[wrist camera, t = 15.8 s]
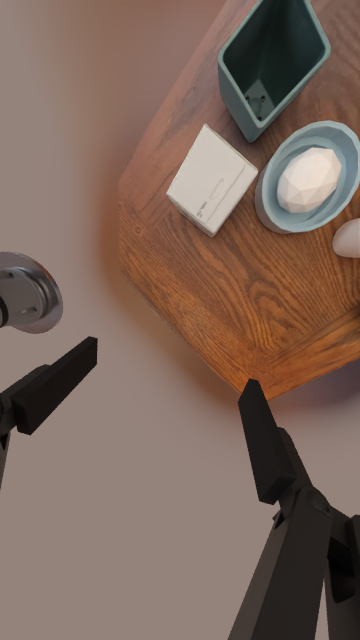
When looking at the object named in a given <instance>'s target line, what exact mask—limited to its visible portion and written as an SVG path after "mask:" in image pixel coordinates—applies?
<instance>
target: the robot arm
mask: <svg viewBox="0 0 360 640" xmlns="http://www.w3.org/2000/svg"><path fill="white" fill-rule="evenodd" d="M45 311H46V300H45V296H44V293H43V291H42V289H41V288H40V286H39V285H38V283H37V282H36V281H35V280H34V279H33V278H32V277H31V276H30V275H28V274H27V273H25V272H23V271H21V270H19V269H16V268H1V269H0V328H1V327H4V326H13V325H23V324H30V323H33V322H35V321H37V320H39V319H41V318H42V317H43V315H44V314H45ZM97 340H98V339H97V338H94V337H90V336H89V337H87V338H86V339H85V340H84V341H82V342H81V343H80V344H78V345H77V346H76V347H74V348H73V349H72V350H70V351H69V352H68V353H66V354H65V355H64V356H62V357H61V358H60V359H58V360H57V361H56V362H55V363H53V364H52V365H51V366H50V365H46V364H45V365H42V366H40V367H37V368H36V369H34V370H33V371H31V372H30V373H28V375H26V376H24V377H23V378H22V379H20V380H18V381H17V382H16V383H14V384H13V385H11V386H10V387H9V388H7V389H6V390H5V391H3V392H2V393H0V489H1V483H2V478H3V472H4V467H5V462H6V456H7V450H8V446H9V440H10V430H11V429H13V428H14V427H15V426H17V430H18V432H20V433H24V434H28V435H31V434H32V433H33V432H34V431H35V430H36V429H37V428H38V427H39V426H40V425H41V424H42V423H43V421H44V420H45V419H46V418H47V417H48V416H49V415H50V414H51V413H52V412H53V411H54V410H55V408H57V406H58V405H59V404H60V403H61V402H62V401H63V400H64V399H65V398H66V397H67V396H68V395H69V393H70V392H71V391H72V390H73V389H74V388H75V387H76V386H77V385H78V384H79V383H80V382H81V381H82V380H83V378H84V377H85V376H86V375H87V374H88V373H89V372H90V371H91V370H92V369H93V368H94V367H95V366H96V364H97ZM238 405H239V410H240V415H241V419H242V424H243V429H244V433H245V438H246V442H247V447H248V451H249V456H250V461H251V466H252V470H253V475H254V480H255V484H256V489H257V494H258V498H259V501H261V502H264V503H267V504H271V505H274V504H275V503H276V501H277V500H278V501H279V504H280V508H281V509H280V510H279V511H278V513H277V514H276V515H275V516H274V517H273V520H274V521H275V522H274V524H273V527H272V529H271V532H270V534H269V537H268V539H267V542H266V544H265V547H264V549H263V552H262V554H261V557H260V559H259V562H258V565H257V567H256V569H255V572H254V574H253V577H252V580H251V582H250V585H249V587H248V590H247V592H246V595H245V597H244V600H243V602H242V605H241V607H240V610H239V612H238V615H237V617H236V620H235V622H234V625H233V627H232V630H231V633H230V635H229V637H228V640H315V632H316V626H317V620H318V613H319V607H320V600H321V593H322V587H323V580H324V582H325V595H326V607H327V620H328V632H329V640H360V515H354V516H353V517H352V518H349V517H348V516H346V515H345V514H343V513H341V512H340V511H338V510H337V509H335V508H333V507H332V506H331V505H330V504H329V503H328V501H327V499H326V498H325V497H324V495H323V494H322V493H321V492H320V491H319V490H318V489H316V488H315V487H313V485H312V483H311V481H310V478H309V476H308V474H307V472H306V470H305V467H304V465H303V463H302V461H301V459H300V456H299V455H298V452H297V450H296V448H295V446H294V443H293V441H292V439H291V437H290V435H289V434H288V433H287V432H286V431H285V429H284V428H280V427H277V425H276V423H275V421H274V418H273V416H272V413H271V410H270V408H269V406H268V403H267V401H266V398H265V396H264V393H263V391H262V388H261V386H260V383H259V381H257V380H254V379H250V378H249V380H248V382H247V384H246V386H245V388H244V390H243V392H242V394H241V397H240V399H239V401H238Z"/></svg>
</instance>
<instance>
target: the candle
mask: <svg viewBox="0 0 360 640" xmlns="http://www.w3.org/2000/svg"><path fill="white" fill-rule="evenodd" d="M332 247H333V250H334V252H335V253H336V254H337V255H339V256H343V257H354V258H360V218H357V219H353V220H350V221H348V222H346V223H345V224H343V225H342V226H341V227H340V228H339V229H338V230H337V231H336V233H335V235H334V237H333V241H332Z"/></svg>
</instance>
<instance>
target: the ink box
mask: <svg viewBox="0 0 360 640" xmlns="http://www.w3.org/2000/svg"><path fill="white" fill-rule="evenodd" d="M257 174H258V169H257V168H256V167H254V166H253V165H252V164H251V163H250V162H249V161H248V160H246V159H245V158H244V157H243V156H242V155H241V154H240V153H238V152H237V151H236V150H235V149H234V148H233V147H232V146H231V145H230V144H229V143H227V142H226V141H225V140H224V139H223V138H222V137H221V136H219V135H218V134H217V133H216V132H215V131H214V130H212V129H211V128H210V127H209V126H208V125H207V124H204V126H203V128H202V130H201V131H200V133H199V135H198V137H197V139H196V140H195V142H194V144H193V146H192V148H191V149H190V151H189V153H188V155H187V157H186V158H185V160H184V162H183V164H182V166H181V167H180V169H179V171H178V173H177V175H176V176H175V178H174V180H173V182H172V184H171V186H170V187H169V189H168V191H167V196H168V197H169V199H170V200H171V201H172V203H173V204H174V205H175V207H176V208H177V209H178V211H179V212H180V213H182V214H183V215H184V216H185V217H186V218H187V219H189V220H190V221H191V222H192V223H193V224H195V225H196V226H197V227H198V228H200V229H201V230H202V231H203V232H205V233H206V234H207V235H208V236H210V237H211V238H212V237H213V236H214V235H215V234H216V233H217V231H218V230H219V228H220V227H221V226H222V224H223V223H224V222H225V220H226V219H227V218H228V216H229V215H230V214H231V212H232V211H233V209H234V208H235V207H236V205H237V204H238V202H239V201H240V200H241V198H242V197H243V195H244V194H245V192H246V191H247V189H248V188H249V186H250V185H251V183H252V182H253V180H254V179H255V177H256V175H257Z"/></svg>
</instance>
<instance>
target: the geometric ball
mask: <svg viewBox="0 0 360 640" xmlns="http://www.w3.org/2000/svg"><path fill="white" fill-rule="evenodd" d="M341 167H342V165H341V164H340V162H339V160H338V158H337V157H336V155H335V153H334V151H333V149H323V148H313V147H312V148H310V149H309V150H307V151H305V152H303V153H302V154H300V155H298V156H297V157H295V158H293V159H292V160H291V161H290V162H289V164H288V165H287V167H286V169H285V170H284V172H283V173H282V175H281V176H280V178H279V180H278V189H277V199H278V202H279V205H280V206H281V207H282V208H284V209H285V210H287V211H289V212H291V213H303V212H308V211H310V210H312V209H314V208H316V207H318V206H320V205H321V204H322V203H323V202H324V200H325V199H326V198H327V197H328V196H329V195H330V194H331V193H332V192H333V191H334V190H335V189H336V186H337V182H338V179H339V175H340V171H341Z"/></svg>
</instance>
